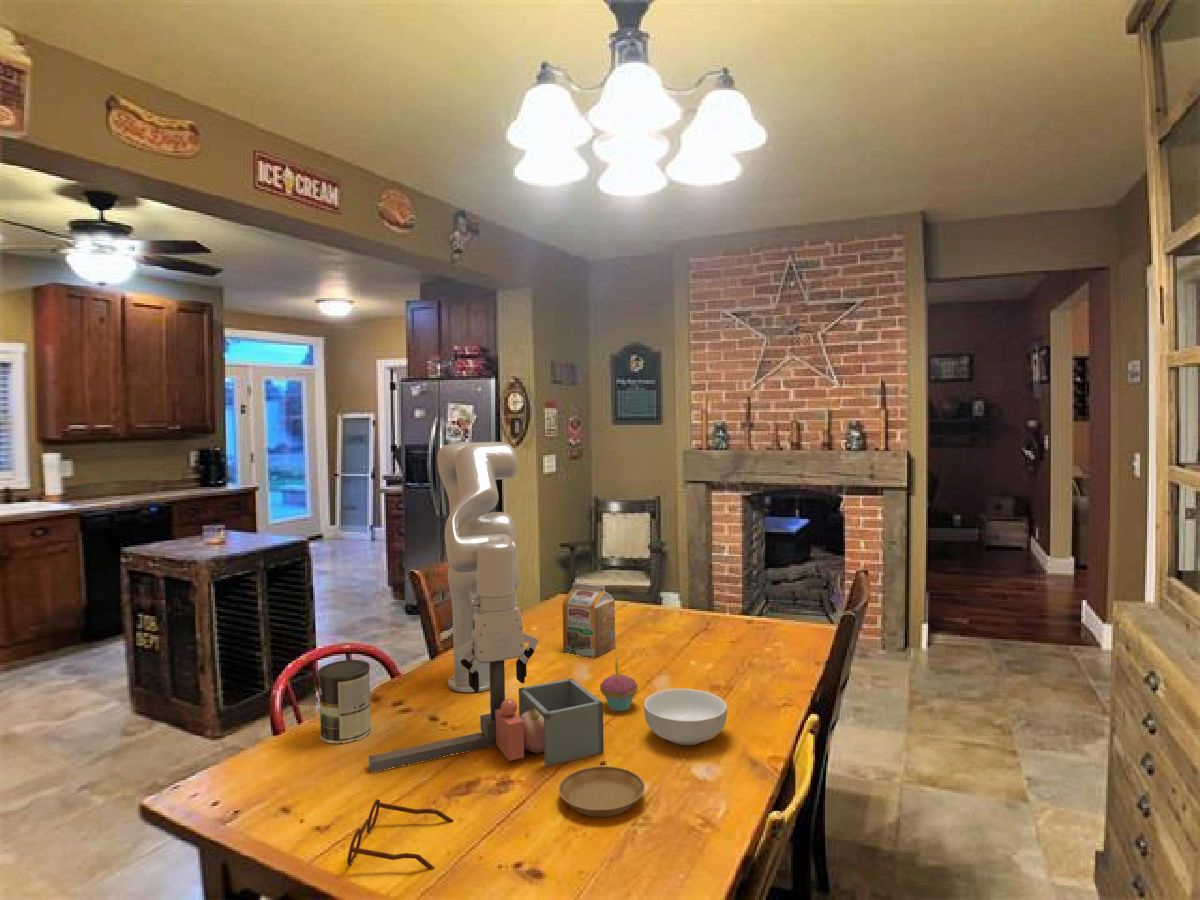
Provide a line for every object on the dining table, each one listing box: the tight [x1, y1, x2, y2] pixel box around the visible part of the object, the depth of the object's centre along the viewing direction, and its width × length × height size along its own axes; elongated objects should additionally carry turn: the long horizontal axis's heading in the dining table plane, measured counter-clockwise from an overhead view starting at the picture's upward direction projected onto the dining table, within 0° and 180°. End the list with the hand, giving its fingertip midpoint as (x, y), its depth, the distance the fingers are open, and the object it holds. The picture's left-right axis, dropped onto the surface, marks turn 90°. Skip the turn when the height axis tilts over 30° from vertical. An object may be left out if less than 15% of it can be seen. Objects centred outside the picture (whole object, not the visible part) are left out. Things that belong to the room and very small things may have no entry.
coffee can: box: [317, 659, 372, 744], centre depth 153 cm, size 10×10×14 cm
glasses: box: [346, 798, 454, 870], centre depth 113 cm, size 13×13×5 cm
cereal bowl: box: [643, 688, 728, 746], centre depth 149 cm, size 17×17×7 cm
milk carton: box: [562, 582, 616, 660], centre depth 204 cm, size 11×11×19 cm
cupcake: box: [599, 657, 638, 712], centre depth 164 cm, size 9×8×12 cm
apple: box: [520, 709, 545, 754], centre depth 144 cm, size 8×8×8 cm
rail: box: [368, 731, 498, 773], centre depth 143 cm, size 3×27×2 cm, turn 116°
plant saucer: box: [558, 765, 646, 818], centre depth 125 cm, size 15×15×3 cm
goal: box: [518, 677, 605, 767], centre depth 146 cm, size 15×12×10 cm
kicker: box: [480, 660, 525, 762], centre depth 144 cm, size 14×6×16 cm, turn 26°
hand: (498, 685), depth 148 cm, fingers open, 9 cm apart
